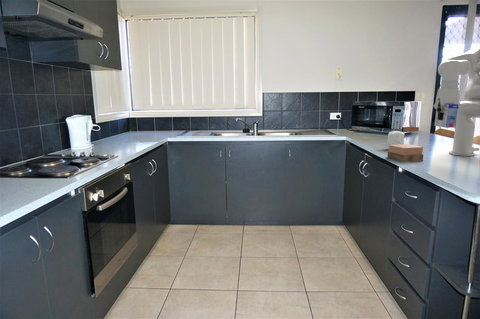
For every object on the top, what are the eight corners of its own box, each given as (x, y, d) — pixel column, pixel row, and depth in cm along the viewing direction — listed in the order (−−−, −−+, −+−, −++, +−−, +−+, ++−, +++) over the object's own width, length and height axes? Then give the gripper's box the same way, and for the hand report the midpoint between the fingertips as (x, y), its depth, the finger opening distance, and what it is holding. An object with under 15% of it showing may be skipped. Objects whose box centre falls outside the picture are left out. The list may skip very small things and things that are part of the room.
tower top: (406, 150, 184) (407, 144, 183) (422, 154, 173) (423, 147, 172) (388, 151, 182) (389, 145, 181) (403, 155, 170) (404, 148, 169)
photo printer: (401, 148, 211) (403, 130, 209) (404, 149, 207) (405, 131, 205) (385, 148, 212) (387, 130, 210) (388, 150, 208) (389, 131, 206)
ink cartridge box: (456, 127, 163) (459, 99, 160) (446, 128, 162) (448, 99, 159) (443, 125, 172) (446, 99, 169) (434, 126, 172) (436, 99, 169)
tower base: (408, 157, 185) (408, 150, 184) (422, 161, 172) (423, 154, 171) (387, 158, 184) (387, 151, 183) (400, 162, 171) (401, 155, 170)
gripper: (458, 84, 167) (455, 118, 171) (428, 85, 166) (425, 119, 169) (470, 84, 160) (466, 119, 164) (439, 85, 158) (435, 120, 162)
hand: (445, 119), depth 167 cm, fingers closed on ink cartridge box, 5 cm apart
